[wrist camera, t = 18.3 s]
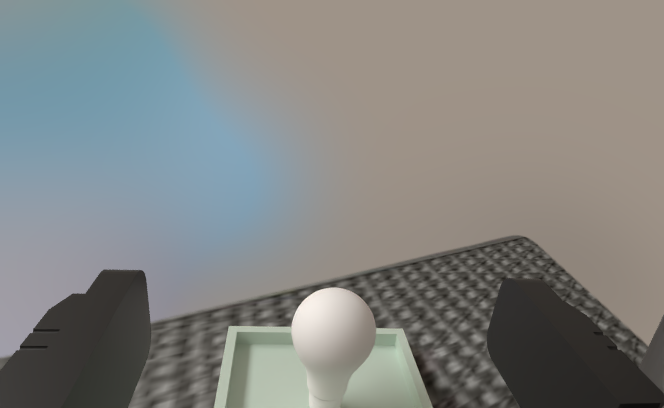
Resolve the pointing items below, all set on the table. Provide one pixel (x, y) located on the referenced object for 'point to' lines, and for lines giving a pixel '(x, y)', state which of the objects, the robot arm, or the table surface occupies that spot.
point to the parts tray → (291, 377)
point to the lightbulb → (332, 342)
